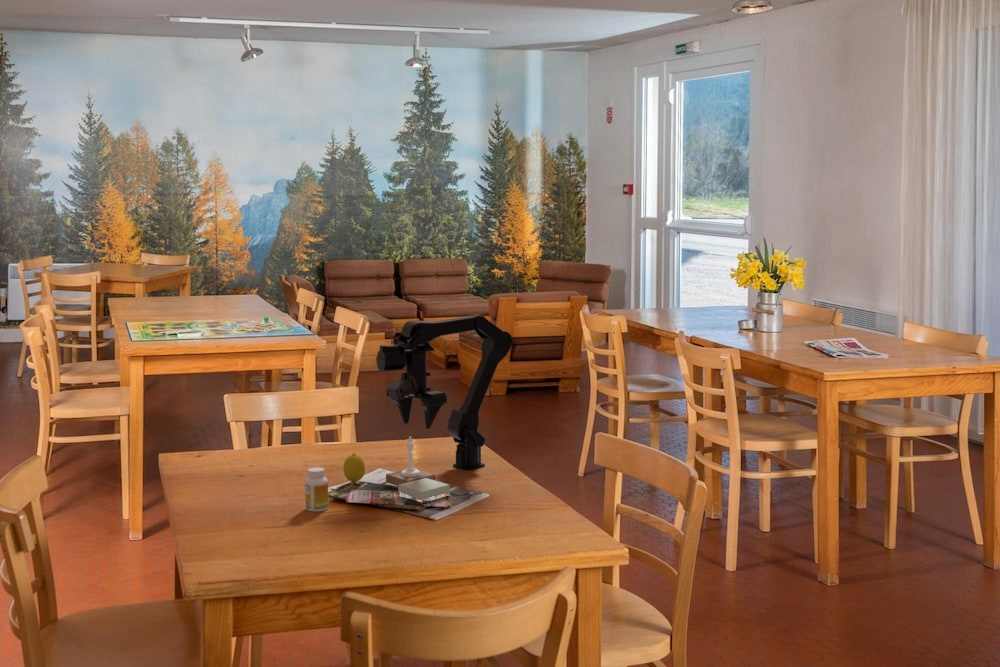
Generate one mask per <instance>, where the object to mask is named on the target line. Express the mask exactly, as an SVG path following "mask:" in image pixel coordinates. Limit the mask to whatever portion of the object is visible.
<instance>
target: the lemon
mask: <svg viewBox="0 0 1000 667" xmlns="http://www.w3.org/2000/svg"><path fill="white" fill-rule="evenodd" d="M342 470H343V474H344V476H345V478H346V479H347V480H348V481H350V482H351V483H353V482H354V481H357V482H358V481H360V480H362V478H363V477H364V475H365V472H366V467H365V462H364V459H363V458H362V456H360V455H358V454H356V453H352V454H350V455H348V456H347V457H346V458H345V460H344V463H343V468H342Z"/></svg>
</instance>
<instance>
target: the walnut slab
mask: <svg viewBox="0 0 1000 667" xmlns="http://www.w3.org/2000/svg"><path fill="white" fill-rule="evenodd" d="M416 469H417V468H416ZM417 470H419V471H420V475H419V476H415V477H405V476H402V475H401V474H402V473H401V472H402V471H403V470H399V471H395V472H390V473H386V474H385V483H386V482H388V483H391V484H394V485H397V486H398V485H399V484H403V483H407V482H412V481H416V480H420V479H424V478H428V479H431V480H435V481H436V474H435V473H431V472H428V471H424V470H421V469H417Z"/></svg>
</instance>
